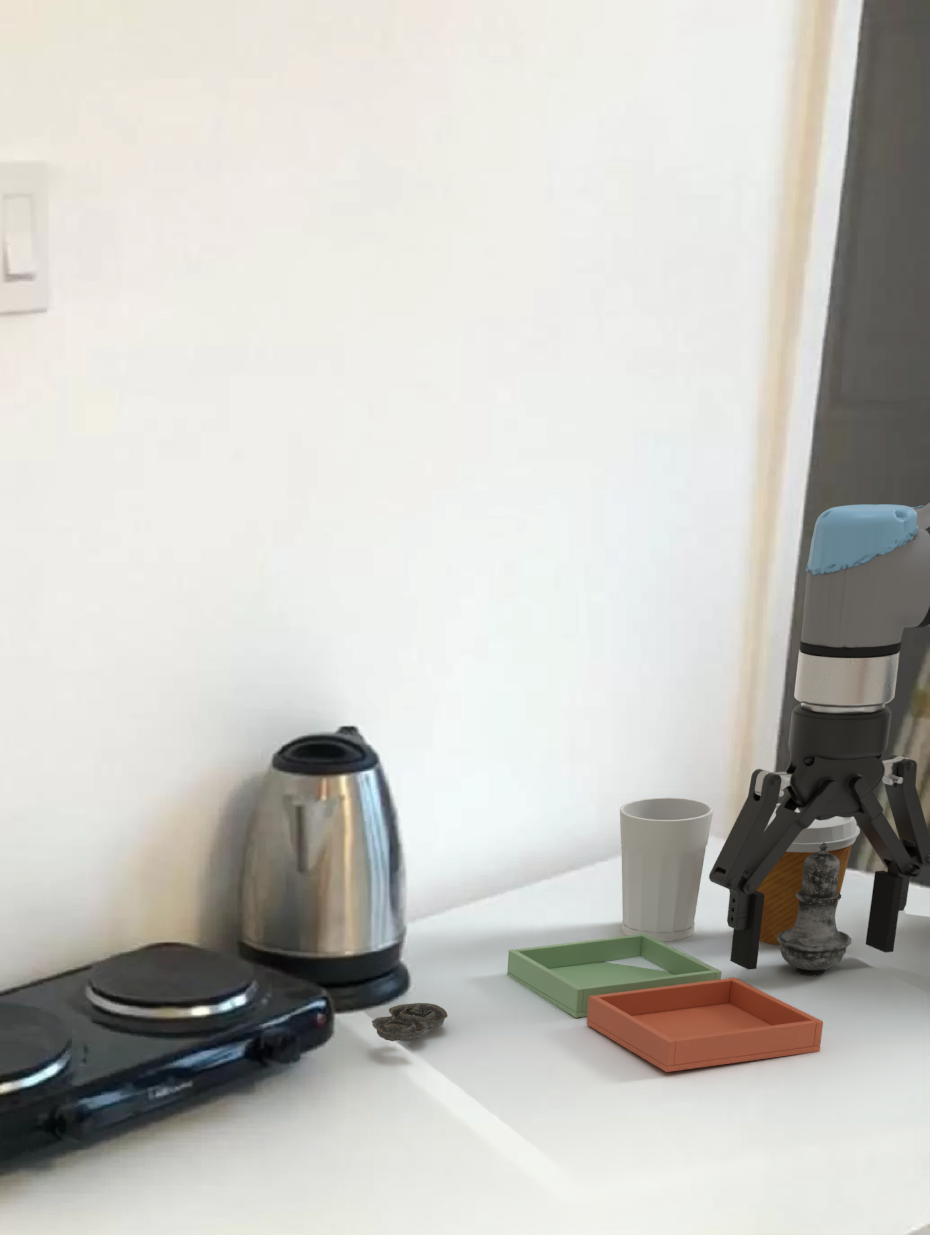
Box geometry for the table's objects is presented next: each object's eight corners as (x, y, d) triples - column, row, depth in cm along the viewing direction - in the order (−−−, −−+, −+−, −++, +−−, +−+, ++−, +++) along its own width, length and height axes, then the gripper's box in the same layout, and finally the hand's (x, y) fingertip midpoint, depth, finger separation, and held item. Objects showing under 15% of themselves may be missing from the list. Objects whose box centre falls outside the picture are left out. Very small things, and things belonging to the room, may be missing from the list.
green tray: (642, 960, 183) (644, 933, 182) (719, 999, 172) (721, 971, 171) (506, 977, 181) (508, 950, 180) (575, 1018, 170) (577, 989, 169)
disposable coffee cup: (850, 963, 179) (865, 830, 174) (734, 960, 182) (745, 829, 177) (843, 929, 187) (857, 801, 182) (732, 926, 190) (743, 800, 185)
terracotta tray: (731, 1005, 170) (734, 977, 170) (819, 1051, 159) (823, 1021, 158) (586, 1024, 168) (588, 995, 167) (666, 1072, 157) (668, 1041, 156)
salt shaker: (760, 981, 176) (773, 846, 171) (791, 962, 179) (804, 829, 174) (828, 994, 172) (844, 856, 167) (858, 974, 175) (874, 838, 170)
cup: (615, 949, 187) (623, 821, 182) (609, 922, 194) (617, 798, 189) (707, 949, 185) (718, 820, 180) (698, 921, 192) (708, 796, 187)
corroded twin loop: (358, 1039, 168) (358, 1027, 168) (404, 1009, 174) (404, 997, 173) (414, 1049, 165) (414, 1037, 165) (458, 1018, 171) (459, 1006, 170)
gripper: (944, 683, 172) (910, 929, 180) (680, 710, 168) (658, 960, 176) (1006, 697, 165) (967, 952, 174) (732, 725, 161) (706, 985, 169)
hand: (811, 956), depth 175 cm, fingers open, 12 cm apart
